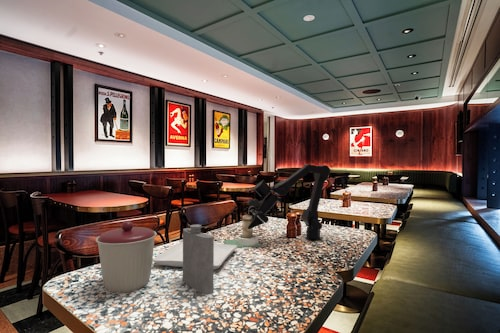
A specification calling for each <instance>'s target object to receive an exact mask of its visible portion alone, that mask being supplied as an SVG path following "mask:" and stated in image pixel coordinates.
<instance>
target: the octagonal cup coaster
mask: <svg viewBox="0 0 500 333" xmlns="http://www.w3.org/2000/svg"><path fill="white" fill-rule="evenodd" d="M242 235H243V233H241V234H238V235H237V236H236V239H227V240H223V244H227V245H236V246H237V248H236V249H240V248H242V249H243V248H253V247H256V248H257V247H261V244H260V243H259V236H258V235H257V234H255V233H254V234H253V238H250V239H245V238H242Z"/></svg>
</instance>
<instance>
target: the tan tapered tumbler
mask: <svg viewBox="0 0 500 333" xmlns="http://www.w3.org/2000/svg"><path fill="white" fill-rule="evenodd" d="M241 219H242V234H243V235H242V238H245V239H250V238H253V232H254V231H253V228H251V229H248V226H249V225H250V223H251V222H252V221H253V216H251V215H248V214H245V215H242V218H241Z"/></svg>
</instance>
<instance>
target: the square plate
mask: <svg viewBox="0 0 500 333" xmlns="http://www.w3.org/2000/svg"><path fill="white" fill-rule="evenodd" d="M236 249H238V248H237V246H236V245H227V244H225V243H217V242H216V243H215V242H214V270H218V269H219V268H220V267H221V266H222V265H223V263H224V262H225V261H226V260H227V259H228V257H230V256H231V255H232V254H233V253H234V252H235V250H236ZM152 263H155V264H157V265H159V266H167V267H173V268H174V267H175V268H176V267H177V268H183V241H180V242H179V243H177V244H175V245H173V246H171V247H169V248H167V249H166V250H164V251H163V252H161V253H160V254H157V255H156V256H155V257H154V258H153V259H152Z"/></svg>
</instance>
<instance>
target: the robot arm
mask: <svg viewBox="0 0 500 333" xmlns="http://www.w3.org/2000/svg"><path fill="white" fill-rule="evenodd" d="M309 173H312V174H313V176H314V184H313V187H312V192H311V194H310V195H311V196H310V200H309V203H308V206H307V208H306V209H305V208H303V212H302V215H301V219H302V221H303V222H304V224H305V226H306V231H305V232H306V234H305V235H306V236H305V239H306V240H309V241H311V242H314V241H315V242H317V241H321V240H323V238H321V229H322V228H323V224H322V223H321V222H320V221H319V211H318V210H319V209H318V208H319V204H320V200H321V196H322V192H323V189H324V184H325V182H326V181H327V180H328V178H329V176H330V174H331V169H330V167H329V166H328V165H326V164H325V165H324V164H322V165H321V164H318V165H312V164H311V163H308V164H307V163H306V164H304V165H303V166H302V167H300V168H299V169H298V170H296V171H295V172H294V173H293V174H291V175H290V176H288V178H286V179H284V180H281V181H279V182H277V183H276V184H274V185H272V186H270V185H269V184H268V183H267V182H266V180H264V179H263V180H261V181H260V182H258V183H257V184H256V185H254V187H253V190H254V191H255V193H257V195H259V197H261V198H263V197H264V198H263V199H262V200H259V199H257V198H251V197H248V200H247V202H246V204H247V205H248V206H249V207H248V209H247V212H248V213H247V215H251V216H253V221H252V222H251V223H250V225H249V226H248V229H251V228H256V227H258V226H261V225H263V224H267V223H268V222H269V217H268V216H267V213H268V212H270V211H272V208H273V207H274V205H276V203H279V204H282V197H280V196H286V195H287V194H288V193H289V191H290V190H291V188H292V187H293V186H294V185H295V184H296V183H298V182H299V181H300V180H301V179H302V178H304V177H306V176H307V175H308V174H309Z"/></svg>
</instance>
